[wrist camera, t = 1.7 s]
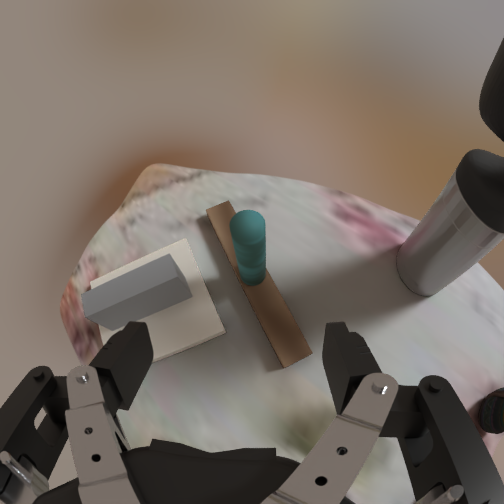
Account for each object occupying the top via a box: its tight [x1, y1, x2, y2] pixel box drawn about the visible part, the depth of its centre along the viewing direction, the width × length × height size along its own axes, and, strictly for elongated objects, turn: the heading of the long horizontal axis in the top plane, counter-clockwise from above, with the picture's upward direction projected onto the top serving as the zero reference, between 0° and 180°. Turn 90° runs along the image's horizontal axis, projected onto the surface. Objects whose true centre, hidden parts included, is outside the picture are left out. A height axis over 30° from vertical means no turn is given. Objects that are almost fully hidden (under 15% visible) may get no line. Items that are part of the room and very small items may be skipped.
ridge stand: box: [81, 238, 227, 363], centre depth 31 cm, size 16×14×8 cm
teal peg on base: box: [206, 201, 312, 368], centre depth 30 cm, size 4×24×13 cm, turn 26°
